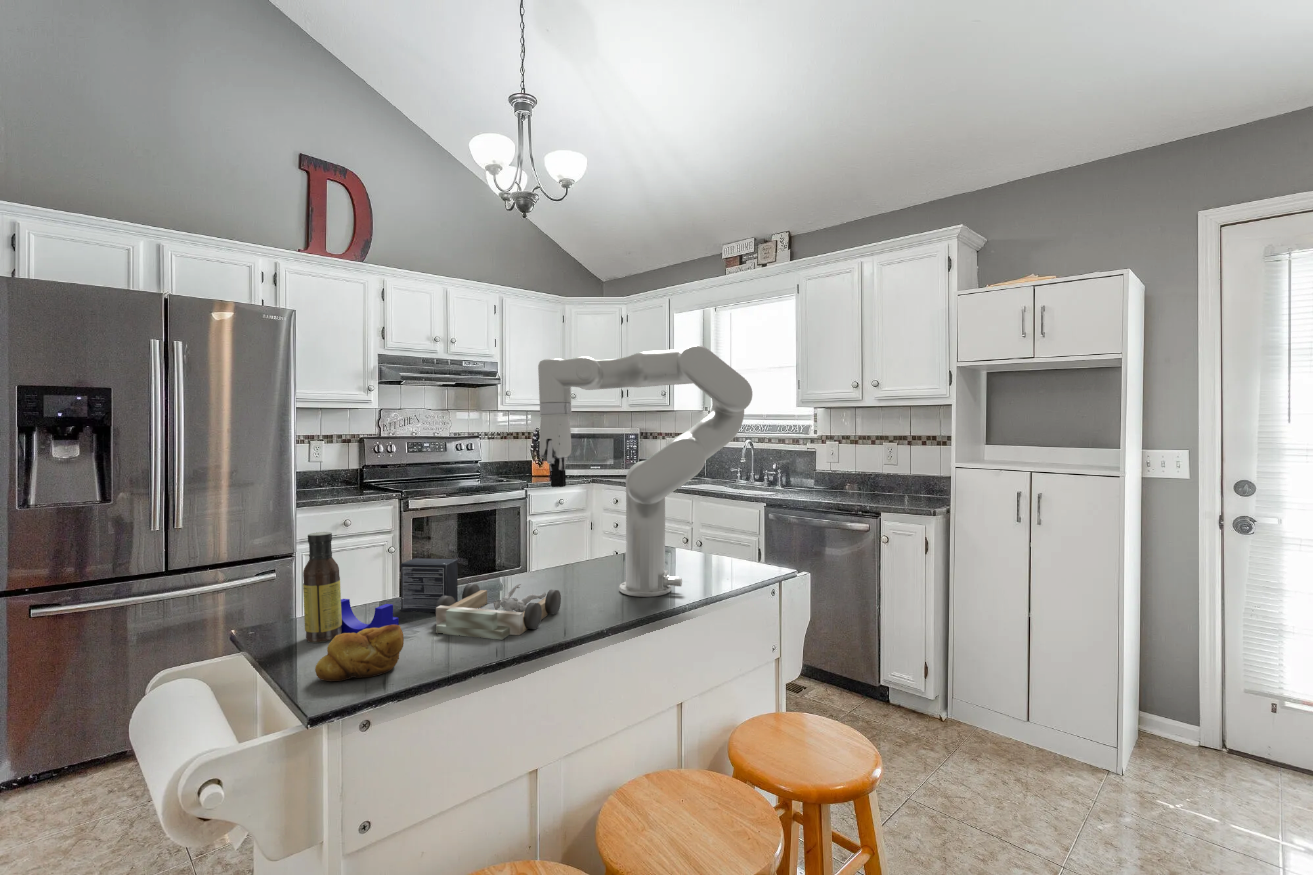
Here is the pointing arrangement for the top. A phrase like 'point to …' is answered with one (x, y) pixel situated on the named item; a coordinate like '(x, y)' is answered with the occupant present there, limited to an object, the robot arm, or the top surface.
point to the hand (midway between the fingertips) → (558, 486)
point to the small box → (427, 583)
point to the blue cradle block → (353, 625)
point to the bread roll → (361, 654)
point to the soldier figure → (515, 601)
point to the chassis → (489, 615)
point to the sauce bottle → (321, 590)
